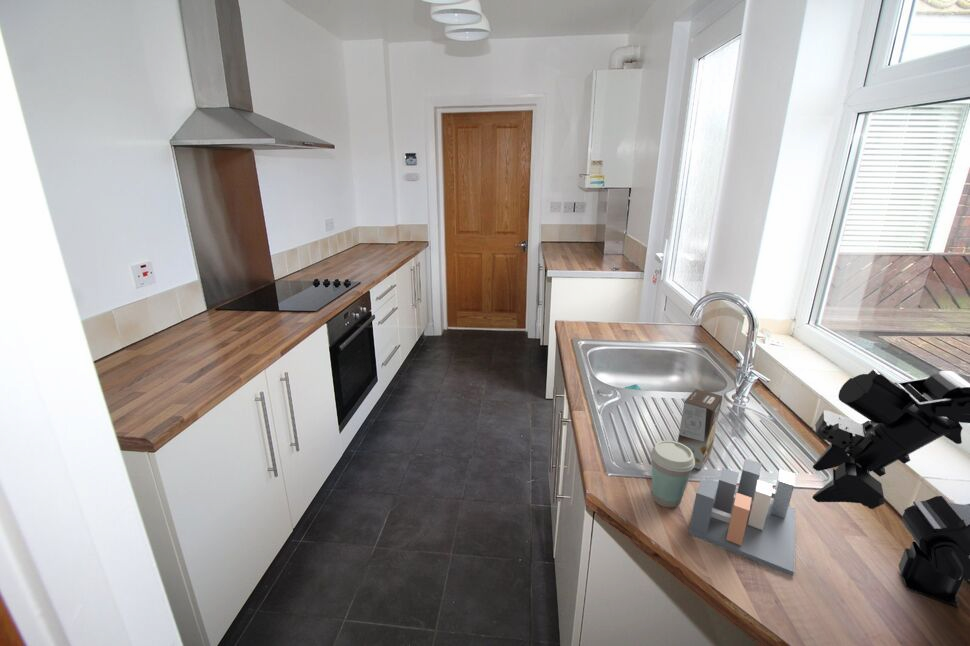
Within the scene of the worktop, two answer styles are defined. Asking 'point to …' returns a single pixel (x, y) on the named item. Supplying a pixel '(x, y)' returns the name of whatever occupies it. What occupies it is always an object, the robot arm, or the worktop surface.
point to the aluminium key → (782, 493)
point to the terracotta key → (735, 518)
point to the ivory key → (759, 504)
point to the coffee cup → (670, 472)
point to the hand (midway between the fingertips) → (814, 483)
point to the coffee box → (700, 424)
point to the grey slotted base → (757, 545)
